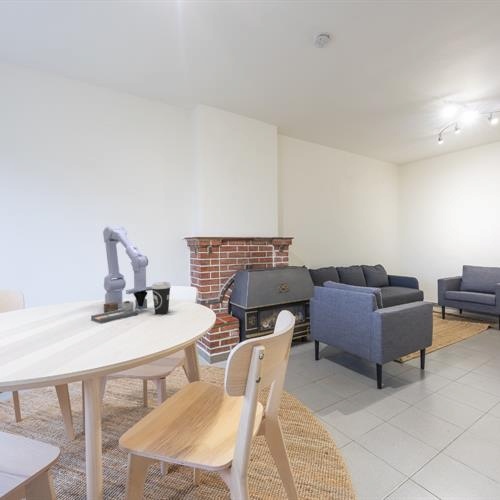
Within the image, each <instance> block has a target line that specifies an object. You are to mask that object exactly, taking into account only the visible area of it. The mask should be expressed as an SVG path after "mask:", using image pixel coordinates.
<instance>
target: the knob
mask: <svg viewBox="0 0 500 500" xmlns="http://www.w3.org/2000/svg"><path fill="white" fill-rule="evenodd" d="M122 302H123V303H121V307H120V310H121V312H123V313H127V312H131V311H134V302H132V301H130V300H126V301H122Z"/></svg>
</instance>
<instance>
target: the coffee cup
mask: <svg viewBox="0 0 500 500" xmlns="http://www.w3.org/2000/svg"><path fill="white" fill-rule="evenodd" d="M151 286H152V287H151V288H152V290H151V291H152V297H153V298H152V299H153V307H154V310H153V311H154V314H155V315H157V314H162V315H167V314H169V308H170V307H169V306H170V294H171V288H172V286H171V284H170V282H167V281H165V282H164V281H162V282H161V281H160V282H153V283H152V285H151Z"/></svg>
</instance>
